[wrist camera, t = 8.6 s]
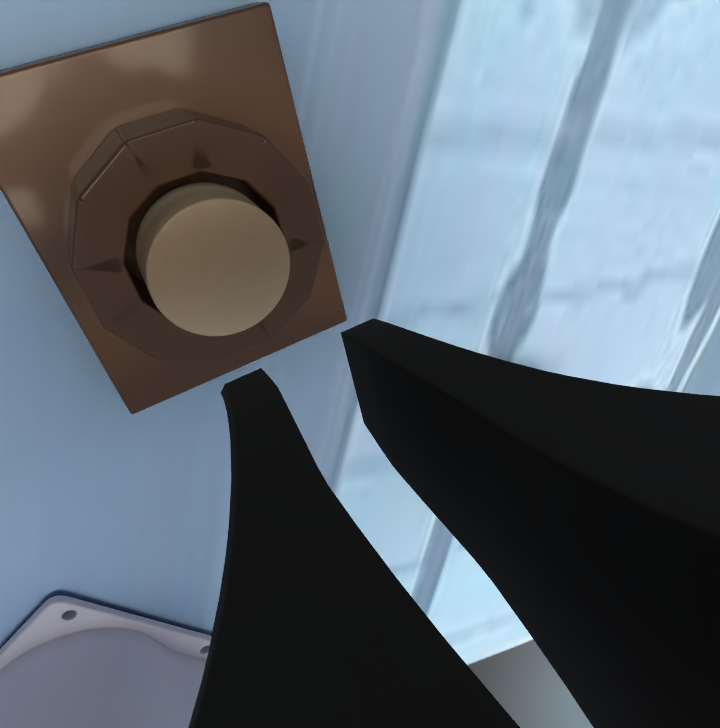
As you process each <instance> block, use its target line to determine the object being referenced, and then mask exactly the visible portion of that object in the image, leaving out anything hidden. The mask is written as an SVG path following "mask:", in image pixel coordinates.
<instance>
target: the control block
mask: <svg viewBox="0 0 720 728" xmlns="http://www.w3.org/2000/svg"><path fill="white" fill-rule="evenodd" d="M199 182H210V183H217V184H221V185H225V186H228V187H230V188H233V189H235V190H237V191H239V192H240V193H242V194H243V195H245V196H246V197H247V198H248V199H250V200H251V201H252V202H253V203H254V204H256V205H257V206H258V207H259V208H260V209H261V210H263V211H264V212H265V213H266V214H267V215H269V216H270V217H271V218H272V220H273V221H274V222H275V223H276V224H277V226H278V227H279V228H280V230H281V232H282V234H283V235H284V237H285V240H286V243H287V245H288V250H289V256H290V272H289V278H288V282H287V285H286V288H285V291H284V293H283V295H282V297H281V299H280V300H279V302H278V304H277V305H276V306H275V307H274V309H273V310H272V311H271V312H270V313H269V314H268V315H267V316H266V317H265V318H264V319H262V320H261V321H260V322H258V323H257V324H255V325H254V326H252V327H250V328H248V329H246V330H244V331H241V332H238V333H235V334H231V335H225V336H205V335H199V334H195V333H191V332H189V331H186V330H184V329H182V328H180V327H178V326H176V325H175V324H173V323H172V322H171V321H169V320H168V319H167V318H166V317H165V316H164V315H163V314H162V313H161V312H160V310H159V309H158V308H157V306H156V305H155V303H154V301H153V299H152V298H151V295H150V293H149V291H148V288H147V286H146V284H145V281H144V279H143V277H142V274H141V272H140V269H139V267H138V263H137V258H136V239H137V234H138V230H139V227H140V224H141V222H142V220H143V218H144V216H145V214H146V213H147V212H148V210H149V209H150V207H151V206H152V205H153V204H154V203H155V202H156V201H157V200H158V199H160V198H161V197H162V196H163V195H165V194H166V193H168V192H170V191H171V190H173V189H176V188H178V187H180V186H183V185H187V184H191V183H199ZM0 189H1V191H2V192H3V194H4V196H5V198H6V199H7V201H8V203H9V204H10V206H11V208H12V210H13V211H14V213H15V215H16V217H17V218H18V220H19V222H20V223H21V225H22V227H23V229H24V230H25V232H26V234H27V236H28V237H29V239H30V241H31V242H32V244H33V246H34V248H35V249H36V251H37V253H38V255H39V256H40V258H41V260H42V261H43V263H44V265H45V267H46V268H47V270H48V272H49V273H50V275H51V277H52V279H53V280H54V282H55V284H56V286H57V287H58V289H59V291H60V292H61V294H62V296H63V298H64V299H65V301H66V303H67V305H68V306H69V308H70V310H71V311H72V313H73V315H74V317H75V318H76V320H77V322H78V324H79V325H80V327H81V329H82V330H83V332H84V334H85V336H86V337H87V339H88V341H89V343H90V344H91V346H92V348H93V349H94V351H95V353H96V355H97V356H98V358H99V360H100V362H101V363H102V365H103V367H104V368H105V370H106V372H107V374H108V375H109V377H110V379H111V380H112V382H113V384H114V386H115V387H116V389H117V391H118V393H119V394H120V396H121V398H122V399H123V401H124V403H125V405H126V406H127V408H128V410H129V412H130V413H131V414H134V413H137V412H139V411H141V410H144V409H146V408H148V407H150V406H153V405H155V404H157V403H160V402H162V401H164V400H166V399H169V398H171V397H173V396H175V395H178V394H180V393H182V392H185V391H187V390H189V389H191V388H194V387H196V386H198V385H201V384H203V383H205V382H207V381H210V380H212V379H214V378H217V377H219V376H221V375H223V374H226V373H228V372H230V371H233V370H235V369H237V368H239V367H242V366H244V365H246V364H249V363H251V362H253V361H255V360H258V359H260V358H262V357H264V356H267V355H269V354H271V353H274V352H276V351H278V350H280V349H283V348H285V347H287V346H290V345H292V344H294V343H296V342H299V341H301V340H303V339H306V338H308V337H310V336H312V335H315V334H317V333H319V332H322V331H324V330H326V329H328V328H331V327H333V326H335V325H338V324H340V323H342V322H344V321H346V320H347V318H346V314H345V310H344V306H343V302H342V298H341V293H340V289H339V285H338V281H337V277H336V273H335V269H334V265H333V261H332V257H331V253H330V249H329V244H328V240H327V236H326V232H325V228H324V224H323V220H322V216H321V212H320V208H319V204H318V200H317V195H316V191H315V187H314V183H313V179H312V175H311V171H310V167H309V163H308V159H307V155H306V151H305V146H304V142H303V138H302V134H301V130H300V126H299V122H298V118H297V114H296V110H295V106H294V102H293V98H292V93H291V89H290V85H289V81H288V77H287V73H286V69H285V65H284V61H283V57H282V53H281V49H280V44H279V40H278V36H277V32H276V28H275V24H274V20H273V16H272V12H271V8H270V5H269V3H267V2H260V3H253V4H249V5H245V6H242V7H238V8H234V9H230V10H227V11H223V12H219V13H215V14H211V15H208V16H204V17H200V18H196V19H193V20H189V21H185V22H181V23H178V24H174V25H170V26H166V27H162V28H159V29H155V30H151V31H147V32H144V33H140V34H136V35H132V36H128V37H125V38H121V39H117V40H113V41H110V42H106V43H102V44H98V45H95V46H91V47H87V48H83V49H79V50H76V51H72V52H68V53H64V54H61V55H57V56H53V57H49V58H46V59H42V60H38V61H34V62H30V63H27V64H23V65H19V66H15V67H12V68H8V69H4V70H0Z"/></svg>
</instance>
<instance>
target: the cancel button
mask: <svg viewBox="0 0 720 728" xmlns="http://www.w3.org/2000/svg"><path fill="white" fill-rule="evenodd" d="M136 258H137V263H138V267H139V269H140V272H141V274H142V277H143V279H144V281H145V284H146V286H147V288H148V291H149V293H150V295H151V298H152V299H153V301H154V303H155V305H156V306H157V308H158V309H159V310H160V312H161V313H162V314H163V315H164V316H165V317H166V318H167V319H168V320H169V321H171V322H172V323H173V324H175V325H176V326H178V327H180V328H182V329H184V330H186V331H189V332H191V333H195V334H199V335H205V336H225V335H231V334H235V333H238V332H241V331H244V330H246V329H248V328H250V327H252V326H254V325H255V324H257V323H258V322H260V321H261V320H262V319H264V318H265V317H266V316H267V315H268V314H269V313H270V312H271V311H272V310H273V309H274V307H275V306H276V305H277V304H278V302H279V300H280V299H281V297H282V295H283V293H284V291H285V288H286V285H287V282H288V278H289V272H290V256H289V250H288V245H287V243H286V240H285V237H284V235H283V234H282V232H281V230H280V228H279V227H278V226H277V224H276V223H275V222H274V221H273V220H272V218H271V217H270V216H269V215H267V214H266V213H265V212H264V211H263V210H261V209H260V208H259V207H258V206H257V205H256V204H254V203H253V202H252V201H251V200H250V199H248V198H247V197H246V196H245V195H243V194H242V193H240V192H239V191H237V190H235V189H233V188H230V187H228V186H225V185H221V184H217V183H210V182H199V183H191V184H187V185H183V186H180V187H178V188H176V189H173V190H171V191H170V192H168V193H166V194H165V195H163V196H162V197H161V198H160V199H158V200H157V201H156V202H155V203H154V204H153V205H152V206H151V207H150V209H149V210H148V212H147V213H146V214H145V216H144V218H143V220H142V222H141V224H140V227H139V230H138V234H137V239H136Z"/></svg>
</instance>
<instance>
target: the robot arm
mask: <svg viewBox="0 0 720 728" xmlns="http://www.w3.org/2000/svg"><path fill="white" fill-rule="evenodd" d="M341 335H342V339H343V343H344V347H345V351H346V355H347V358H348V362H349V366H350V370H351V374H352V378H353V382H354V386H355V390H356V394H357V397H358V401H359V405H360V409H361V413H362V417H363V421H364V424H365V425H366V427H367V428H368V430H369V431H370V433H371V434H372V436H373V437H374V439H375V440H376V442H377V443H378V445H379V447H380V448H381V449H382V451H383V452H384V454H385V455H386V457H387V458H388V460H389V461H390V463H391V464H392V466H393V467H394V468H395V469H396V470H397V472H398V473H399V474H400V475H401V476H402V477H403V479H404V480H405V481H406V482H407V483H408V484H409V485H410V487H411V488H412V489H413V490H414V491H415V492H416V494H417V495H418V496H419V497H420V498H421V499H422V500H423V502H424V503H425V504H426V505H427V506H428V507H429V508H430V509H431V511H432V512H433V513H434V514H435V515H436V516H437V517H438V519H439V520H440V521H441V522H442V523H443V524H444V525H445V526H446V528H447V529H448V530H449V531H450V532H451V533H452V534H453V536H454V537H455V538H456V539H457V540H458V541H459V542H460V543H461V545H462V546H463V547H464V548H465V549H466V550H467V551H468V552H469V554H470V555H471V556H472V557H473V558H474V559H475V561H476V562H477V563H478V564H479V566H480V567H481V568H482V569H483V570H484V572H485V573H486V574H487V575H488V577H489V578H490V579H491V580H492V582H493V583H494V584H495V586H496V587H497V589H498V590H499V591H500V593H501V594H502V596H503V597H504V598H505V600H506V601H507V603H508V604H509V605H510V607H511V608H512V610H513V611H514V612H515V614H516V615H517V616H518V618H519V619H520V621H521V622H522V623H523V625H524V626H525V628H526V629H527V630H528V632H529V633H530V635H531V636H532V638H533V639H534V641H535V642H536V643H537V645H538V646H539V648H540V649H541V651H542V652H543V654H544V655H545V656H546V658H547V659H548V661H549V662H550V664H551V665H552V667H553V668H554V669H555V671H556V672H557V674H558V675H559V676H560V678H561V680H562V681H563V682H564V684H565V685H566V687H567V688H568V690H569V691H570V693H571V694H572V696H573V697H574V699H575V700H576V702H577V703H578V705H579V706H580V708H581V709H582V711H583V712H584V714H585V715H586V717H587V718H588V720H589V721H590V723H591V724H592V726H593V727H594V728H720V396H711V395H698V394H689V393H680V392H671V391H662V390H652V389H644V388H637V387H629V386H622V385H616V384H610V383H604V382H599V381H593V380H588V379H582V378H577V377H571V376H566V375H561V374H557V373H552V372H547V371H543V370H539V369H535V368H531V367H527V366H523V365H519V364H515V363H512V362H508V361H504V360H500V359H497V358H493V357H490V356H486V355H483V354H480V353H476V352H473V351H470V350H467V349H464V348H460V347H457V346H454V345H451V344H448V343H445V342H442V341H439V340H436V339H433V338H430V337H427V336H424V335H422V334H419V333H416V332H413V331H410V330H407V329H404V328H401V327H398V326H396V325H393V324H390V323H387V322H383V321H380V320H377V319H371V320H369V321H366V322H364V323H362V324H360V325H357V326H355V327H353V328H351V329H348V330H346V331H344V332H341ZM221 394H222V397H223V399H224V402H225V406H226V410H227V415H228V421H229V431H230V441H231V498H230V516H229V530H228V540H227V549H226V557H225V565H224V571H223V578H222V584H221V591H220V597H219V602H218V607H217V612H216V617H215V622H214V627H213V632H212V636H210V635H207V634H203V633H199V632H196V631H192V630H188V629H185V628H181V627H177V626H174V625H170V624H167V623H163V622H159V621H156V620H152V619H148V618H145V617H141V616H137V615H134V614H130V613H127V612H123V611H119V610H116V609H112V608H108V607H105V606H101V605H97V604H94V603H90V602H87V601H83V600H79V599H76V598H72V597H68V596H63V595H58V596H54V597H51V598H49V599H48V600H46V601H45V602H44V603H43V604H42V605H41V606H40V607H39V608H38V609H37V611H36V612H35V613H34V614H33V615H32V616H31V617H30V618H29V619H28V620H27V621H26V622H25V623H24V624H23V625H22V626H21V628H20V629H19V630H18V631H17V632H16V633H15V634H14V635H13V636H12V637H11V638H10V639H9V640H8V641H7V642H6V643H5V645H4V646H3V647H2V648H1V649H0V728H520V727H519V726H518V725H517V724H516V722H515V721H514V720H513V719H512V718H511V717H510V715H509V714H508V713H507V712H506V711H505V710H504V708H503V707H502V706H501V705H500V704H499V702H498V701H497V700H496V699H495V698H494V697H493V695H492V694H491V693H490V692H489V691H488V689H487V688H486V687H485V686H484V685H483V684H482V682H481V681H480V680H479V679H478V678H477V676H476V675H475V674H474V673H473V672H472V670H471V669H470V668H469V667H468V666H467V665H466V663H465V662H464V661H463V660H462V659H461V657H460V656H459V655H458V654H457V653H456V652H455V650H454V649H453V648H452V647H451V646H450V644H449V643H448V642H447V641H446V640H445V638H444V637H443V636H442V635H441V633H440V632H439V631H438V630H437V628H436V627H435V626H434V625H433V623H432V622H431V621H430V620H429V618H428V617H427V616H426V615H425V613H424V612H423V611H422V610H421V608H420V607H419V606H418V605H417V603H416V602H415V601H414V600H413V598H412V597H411V596H410V595H409V593H408V592H407V591H406V589H405V588H404V587H403V586H402V584H401V583H400V582H399V581H398V579H397V578H396V577H395V576H394V574H393V573H392V572H391V570H390V569H389V568H388V566H387V565H386V564H385V562H384V561H383V560H382V558H381V557H380V556H379V554H378V553H377V552H376V550H375V549H374V548H373V546H372V545H371V544H370V542H369V541H368V540H367V538H366V537H365V536H364V534H363V533H362V532H361V530H360V529H359V528H358V526H357V525H356V524H355V522H354V521H353V519H352V518H351V517H350V515H349V514H348V512H347V511H346V510H345V508H344V507H343V505H342V504H341V503H340V501H339V500H338V498H337V497H336V496H335V494H334V493H333V492H332V490H331V489H330V487H329V486H328V484H327V482H326V481H325V479H324V477H323V475H322V474H321V472H320V470H319V469H318V467H317V465H316V463H315V461H314V459H313V457H312V455H311V453H310V451H309V449H308V447H307V445H306V443H305V441H304V439H303V437H302V435H301V433H300V431H299V429H298V427H297V425H296V423H295V421H294V419H293V417H292V415H291V413H290V411H289V409H288V407H287V405H286V403H285V401H284V399H283V397H282V395H281V393H280V391H279V389H278V387H277V386H276V385H275V383H274V382H273V381H272V380H271V378H270V377H269V376H268V375H267V374H266V373H265V372H264V371H263V370H262V369H261V368H260V369H258V370H256V371H253V372H251V373H249V374H247V375H244V376H242V377H240V378H238V379H235V380H233V381H231V382H229V383H226V384H225V385H224V387H223V389H222V391H221ZM69 610H72V611H70V612H66V611H69Z"/></svg>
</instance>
